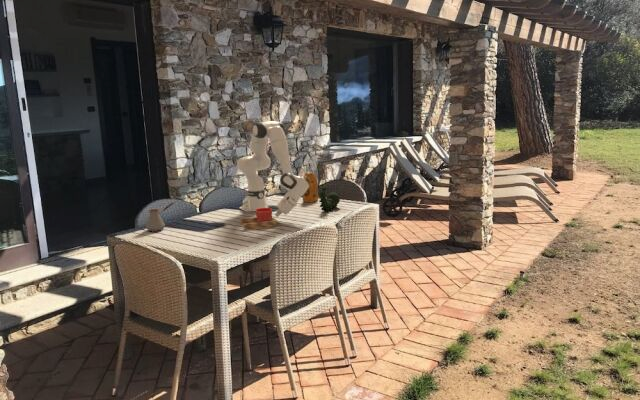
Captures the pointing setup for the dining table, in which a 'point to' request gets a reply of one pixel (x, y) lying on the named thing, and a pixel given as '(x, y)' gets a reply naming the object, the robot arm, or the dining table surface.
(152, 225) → the coffee pot
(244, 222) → the brown wooden u-shaped frame
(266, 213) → the flower pot
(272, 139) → the robot arm
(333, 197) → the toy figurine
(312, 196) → the coffee package
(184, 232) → the dining table surface
